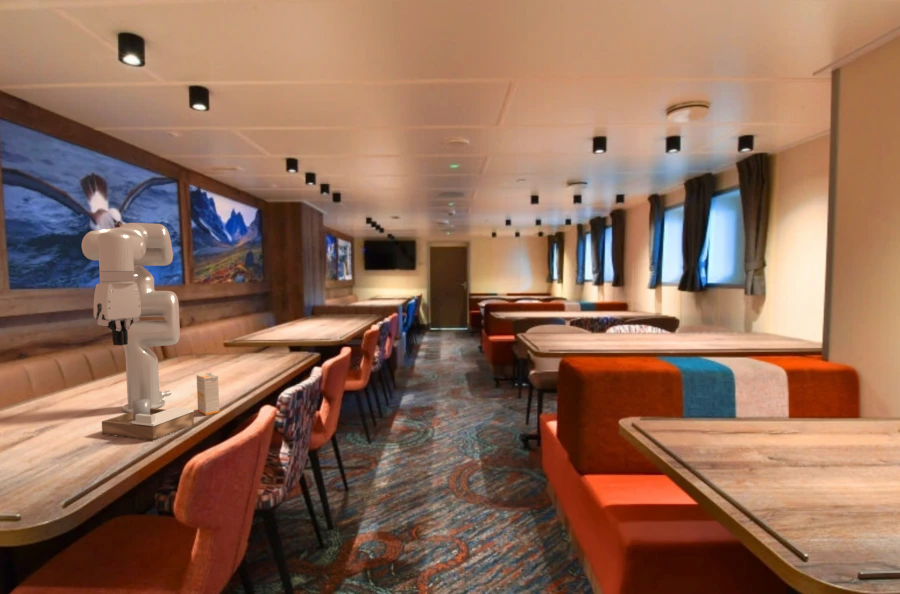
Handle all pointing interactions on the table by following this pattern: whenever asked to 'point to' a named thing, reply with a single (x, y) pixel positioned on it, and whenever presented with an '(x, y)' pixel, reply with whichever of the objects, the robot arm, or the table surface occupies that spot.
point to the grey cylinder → (140, 407)
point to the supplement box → (208, 393)
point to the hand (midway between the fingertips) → (120, 344)
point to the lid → (160, 416)
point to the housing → (145, 426)
